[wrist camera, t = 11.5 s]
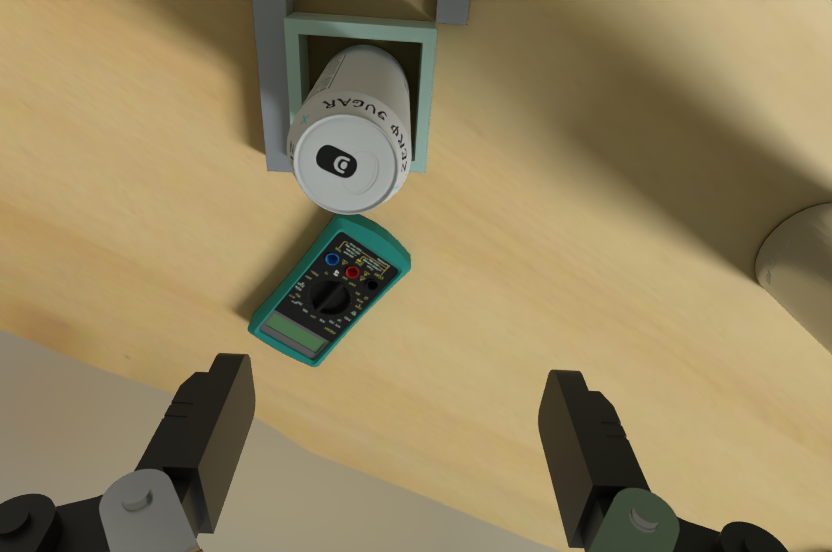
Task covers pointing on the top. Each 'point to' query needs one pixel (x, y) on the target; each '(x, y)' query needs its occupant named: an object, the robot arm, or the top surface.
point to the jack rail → (289, 64)
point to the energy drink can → (353, 132)
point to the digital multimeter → (330, 288)
